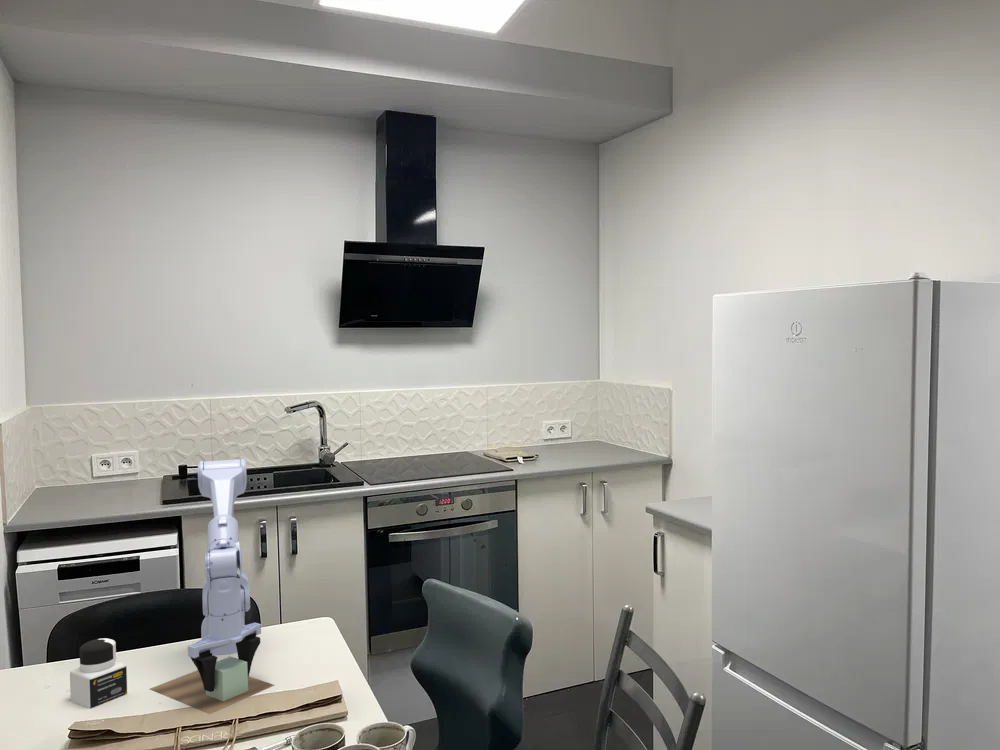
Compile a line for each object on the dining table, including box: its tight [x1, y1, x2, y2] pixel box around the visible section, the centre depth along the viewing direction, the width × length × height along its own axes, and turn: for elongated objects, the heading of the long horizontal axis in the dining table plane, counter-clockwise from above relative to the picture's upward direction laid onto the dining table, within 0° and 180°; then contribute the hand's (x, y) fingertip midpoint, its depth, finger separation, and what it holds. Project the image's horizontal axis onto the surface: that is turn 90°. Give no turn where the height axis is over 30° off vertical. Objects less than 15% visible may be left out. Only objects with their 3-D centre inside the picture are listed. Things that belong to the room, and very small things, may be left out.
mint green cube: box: [206, 655, 248, 701], centre depth 139 cm, size 5×5×6 cm
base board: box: [149, 669, 275, 715], centre depth 142 cm, size 20×14×4 cm
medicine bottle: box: [69, 637, 128, 709], centre depth 139 cm, size 7×7×12 cm
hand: (227, 682), depth 139 cm, fingers open, 7 cm apart
